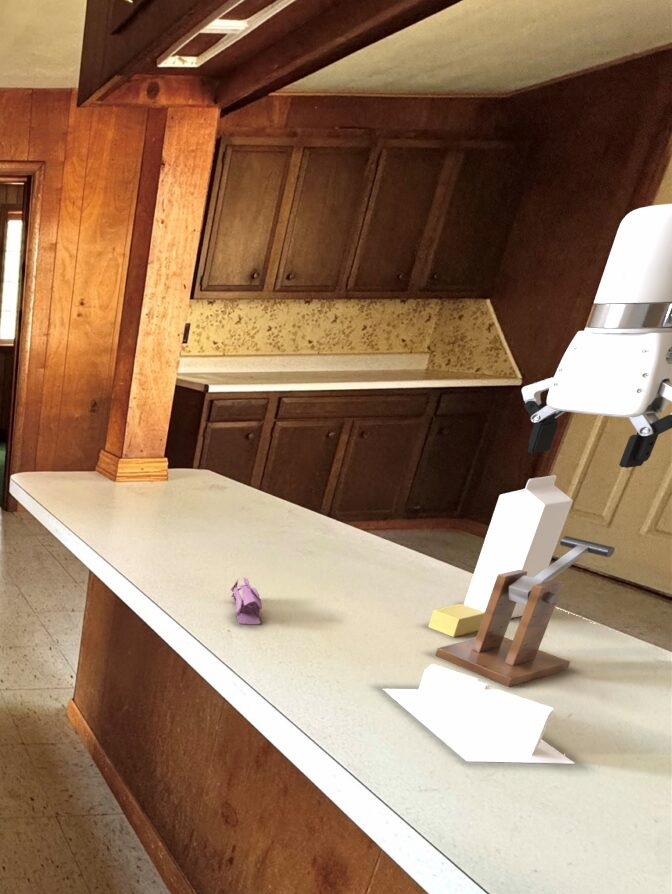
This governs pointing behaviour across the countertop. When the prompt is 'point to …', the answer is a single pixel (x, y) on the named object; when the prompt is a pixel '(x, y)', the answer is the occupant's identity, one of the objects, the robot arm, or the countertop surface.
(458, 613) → the butter
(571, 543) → the lever
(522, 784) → the countertop surface
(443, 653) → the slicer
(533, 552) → the milk
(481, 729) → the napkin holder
